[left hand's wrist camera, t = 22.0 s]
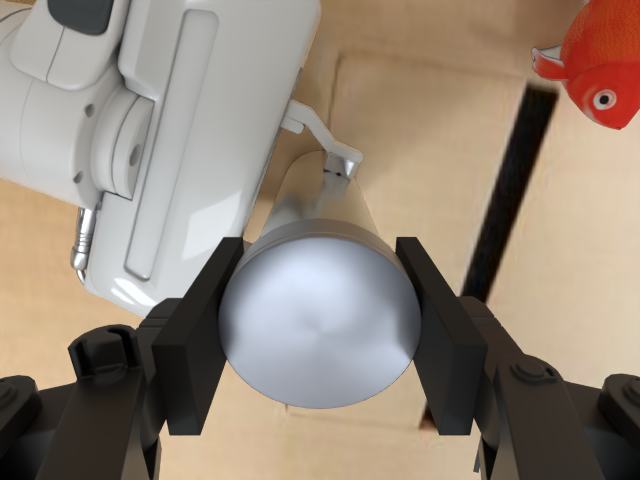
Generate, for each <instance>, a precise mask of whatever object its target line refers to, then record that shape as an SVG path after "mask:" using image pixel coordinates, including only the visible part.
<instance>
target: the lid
mask: <svg viewBox="0 0 640 480" xmlns="http://www.w3.org/2000/svg"><path fill="white" fill-rule="evenodd" d="M217 320H218V329H219V337H220V343H221V346H222V349H223V352H224V354H225V356H226V358H227V360H228V362H229V363H230V365H231V366H232V367H233V369H234V370H235V372H236V373H237V374H238V375H239V376H240V377H241V378H242V379H243V380H244V381H245V382H246V383H247V384H249V385H250V386H251V387H252V388H254V389H255V390H257V391H258V392H260V393H261V394H263V395H265V396H267V397H269V398H271V399H273V400H276V401H279V402H281V403H284V404H288V405H292V406H296V407H303V408H313V409H327V408H337V407H343V406H348V405H352V404H355V403H358V402H361V401H364V400H366V399H368V398H370V397H372V396H374V395H376V394H378V393H380V392H381V391H383V390H384V389H386V388H387V387H388V386H390V385H391V384H392V383H393V382H395V381H396V380H397V379H398V378H399V377H400V376H401V374H402V373H403V372H404V371H405V370H406V368H407V367H408V366H409V364H410V363H411V361H412V359H413V357H414V355H415V353H416V351H417V348H418V345H419V341H420V334H421V325H422V312H421V307H420V303H419V299H418V296H417V294H416V292H415V289H414V287H413V285H412V283H411V281H410V279H409V277H408V275H407V273H406V271H405V269H404V267H403V264H402V263H401V261H400V260H399V258H398V256H397V255H396V254H395V252H394V251H393V250H392V249H391V248H390V247H389V246H388V245H387V244H386V243H385V242H384V241H383V240H382V239H381V238H379V237H378V236H376V235H375V234H373V233H372V232H370V231H368V230H366V229H364V228H362V227H360V226H358V225H355V224H352V223H349V222H345V221H340V220H335V219H324V218H316V219H305V220H299V221H294V222H291V223H288V224H285V225H282V226H280V227H278V228H275V229H273V230H271V231H270V232H268V233H266V234H265V235H263V236H262V237H260V238H259V239H258V240H257V241H256V242H255V243H253V244H252V245H251V246H250V247H249V249H248V250H247V251H246V252H245V253H244V254H243V256H242V257H241V259H240V261H239V262H238V264H237V266H236V268H235V270H234V272H233V274H232V276H231V278H230V280H229V282H228V284H227V287H226V289H225V291H224V293H223V295H222V298H221V301H220V305H219V309H218V319H217Z"/></svg>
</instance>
